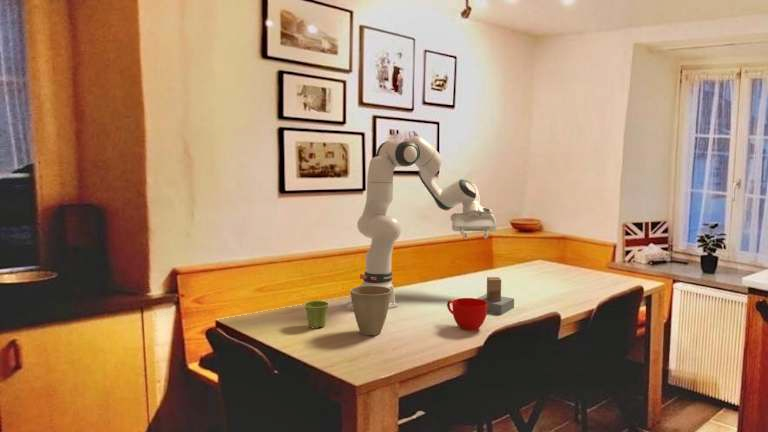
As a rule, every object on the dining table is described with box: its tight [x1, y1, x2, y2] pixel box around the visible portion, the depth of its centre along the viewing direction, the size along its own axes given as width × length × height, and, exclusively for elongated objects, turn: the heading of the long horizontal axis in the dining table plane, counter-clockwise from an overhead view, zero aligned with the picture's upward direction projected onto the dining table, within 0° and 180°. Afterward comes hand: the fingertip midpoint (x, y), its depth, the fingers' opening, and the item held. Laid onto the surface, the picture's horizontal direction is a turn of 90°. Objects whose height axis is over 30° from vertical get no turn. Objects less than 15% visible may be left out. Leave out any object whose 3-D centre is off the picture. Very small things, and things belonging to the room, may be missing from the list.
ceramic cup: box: [446, 297, 488, 332], centre depth 214 cm, size 13×17×10 cm
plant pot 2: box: [349, 285, 391, 336], centre depth 207 cm, size 15×15×16 cm
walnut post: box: [486, 276, 502, 301], centre depth 239 cm, size 5×5×9 cm
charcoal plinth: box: [476, 293, 515, 316], centre depth 240 cm, size 13×13×4 cm
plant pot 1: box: [303, 300, 330, 329], centre depth 214 cm, size 9×9×9 cm
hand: (475, 237), depth 257 cm, fingers open, 8 cm apart
